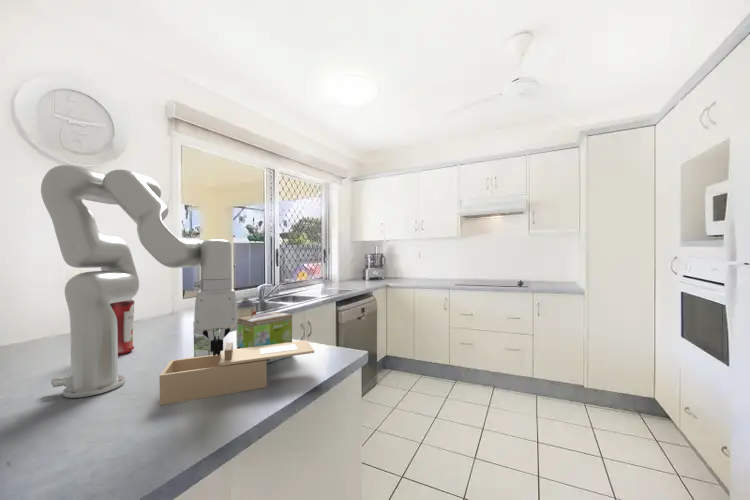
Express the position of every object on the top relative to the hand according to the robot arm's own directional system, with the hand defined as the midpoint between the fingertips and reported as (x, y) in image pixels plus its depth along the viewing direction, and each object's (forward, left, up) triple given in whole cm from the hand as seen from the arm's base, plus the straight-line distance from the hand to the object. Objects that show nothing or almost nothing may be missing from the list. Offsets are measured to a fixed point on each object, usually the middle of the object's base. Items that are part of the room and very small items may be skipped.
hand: (216, 353), depth 85 cm
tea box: (+13, +18, -9) cm, 24 cm away
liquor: (-36, +50, -9) cm, 62 cm away
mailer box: (0, 0, -9) cm, 9 cm away
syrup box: (-5, +22, -9) cm, 25 cm away
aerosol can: (+7, +30, -9) cm, 33 cm away
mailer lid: (+13, 0, -1) cm, 13 cm away
